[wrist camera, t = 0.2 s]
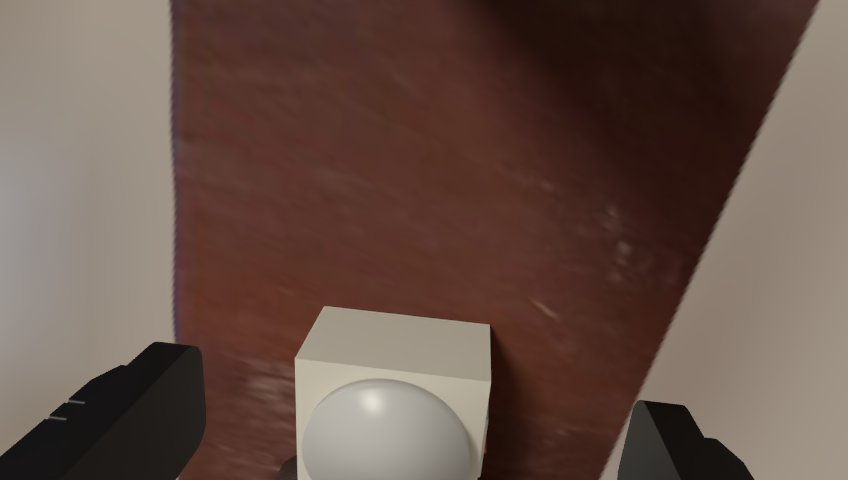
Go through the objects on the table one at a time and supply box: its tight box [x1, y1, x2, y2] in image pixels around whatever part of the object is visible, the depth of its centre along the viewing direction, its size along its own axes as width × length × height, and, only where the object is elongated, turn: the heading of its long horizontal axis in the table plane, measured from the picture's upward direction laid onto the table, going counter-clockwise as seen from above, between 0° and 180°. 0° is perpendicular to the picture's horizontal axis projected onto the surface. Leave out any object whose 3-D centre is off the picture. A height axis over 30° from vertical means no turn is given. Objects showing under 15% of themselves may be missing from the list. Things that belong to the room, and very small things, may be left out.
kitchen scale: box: [295, 306, 491, 480], centre depth 28 cm, size 9×9×6 cm
